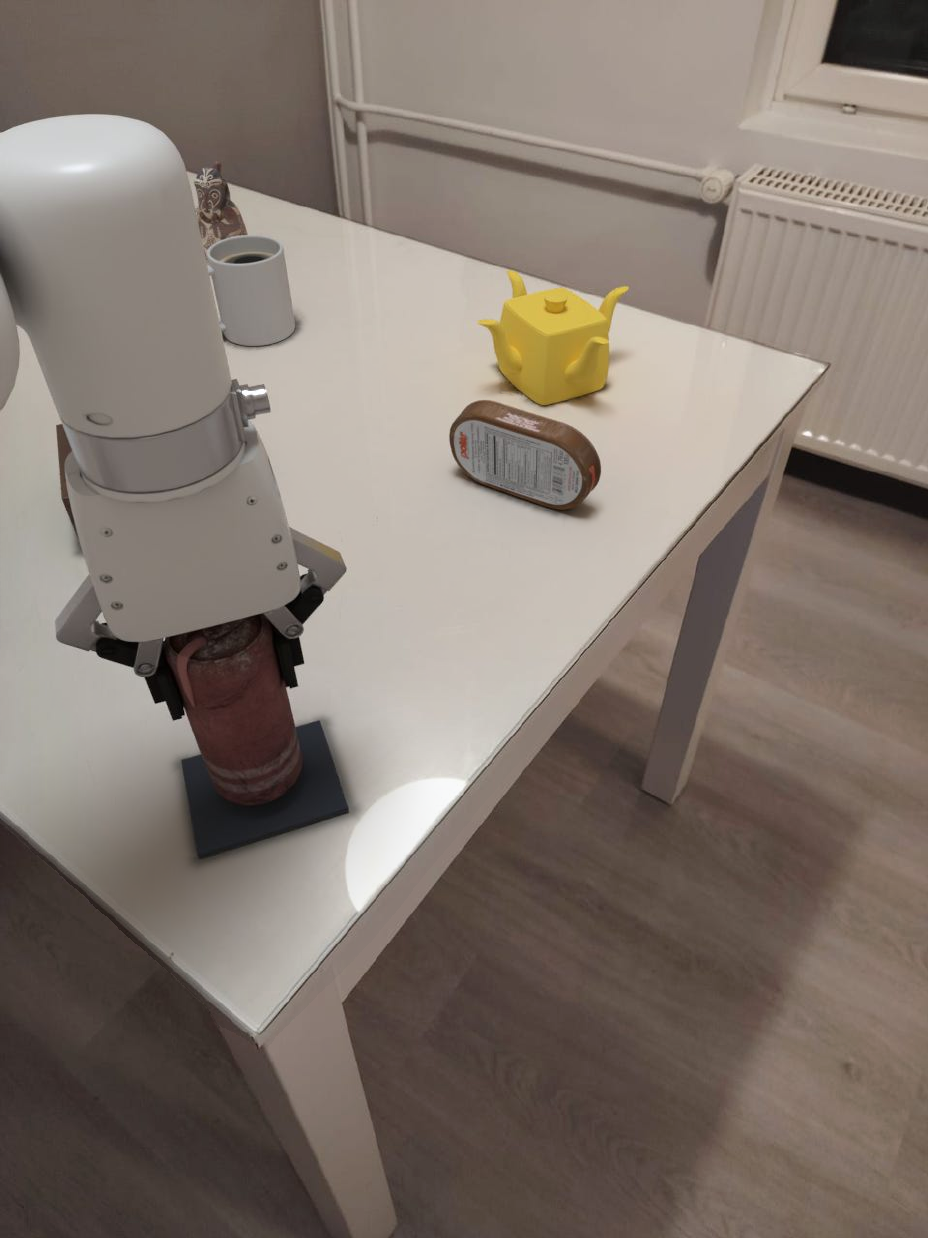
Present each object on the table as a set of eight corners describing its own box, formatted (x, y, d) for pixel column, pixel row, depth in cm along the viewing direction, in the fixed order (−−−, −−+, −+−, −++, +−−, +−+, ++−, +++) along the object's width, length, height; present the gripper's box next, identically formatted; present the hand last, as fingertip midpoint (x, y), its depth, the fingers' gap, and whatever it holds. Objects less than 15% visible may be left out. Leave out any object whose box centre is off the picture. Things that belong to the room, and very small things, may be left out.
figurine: (191, 262, 123) (170, 171, 115) (219, 243, 128) (202, 155, 119) (233, 270, 121) (216, 178, 113) (261, 251, 126) (246, 161, 117)
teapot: (506, 339, 106) (508, 260, 99) (621, 355, 103) (631, 275, 96) (472, 400, 96) (473, 317, 89) (598, 419, 93) (609, 335, 86)
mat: (199, 859, 56) (197, 855, 56) (182, 764, 61) (180, 759, 61) (349, 812, 58) (348, 807, 58) (320, 724, 64) (319, 719, 63)
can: (193, 800, 57) (134, 655, 47) (238, 726, 61) (193, 579, 51) (277, 823, 56) (235, 678, 46) (317, 746, 60) (286, 599, 50)
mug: (302, 314, 111) (291, 235, 104) (284, 350, 104) (270, 268, 97) (220, 311, 112) (203, 232, 105) (197, 346, 105) (177, 264, 98)
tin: (597, 507, 82) (607, 430, 76) (583, 525, 80) (592, 448, 74) (461, 461, 88) (460, 386, 82) (445, 477, 86) (443, 401, 80)
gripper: (321, 358, 44) (354, 610, 57) (-44, 424, 40) (79, 681, 53) (361, 433, 39) (387, 692, 52) (-51, 518, 35) (87, 777, 48)
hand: (232, 684), depth 52 cm, fingers closed on can, 6 cm apart
